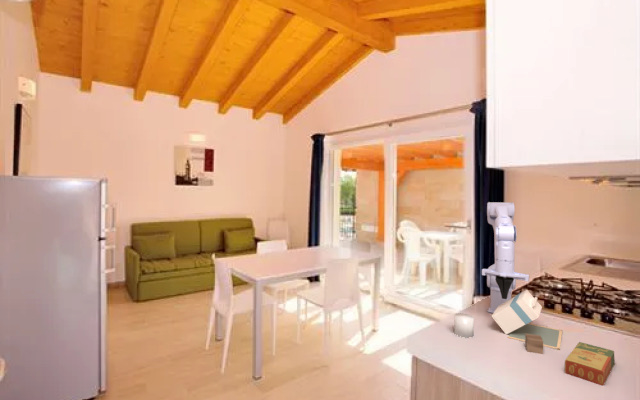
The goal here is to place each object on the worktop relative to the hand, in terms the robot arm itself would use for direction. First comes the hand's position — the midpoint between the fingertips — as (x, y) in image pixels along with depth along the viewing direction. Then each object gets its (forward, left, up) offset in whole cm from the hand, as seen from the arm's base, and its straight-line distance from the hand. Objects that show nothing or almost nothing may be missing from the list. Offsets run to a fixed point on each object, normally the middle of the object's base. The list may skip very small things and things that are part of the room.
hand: (504, 298), depth 120 cm
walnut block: (+13, +10, -10) cm, 20 cm away
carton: (+16, +23, -11) cm, 31 cm away
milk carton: (0, -1, -8) cm, 8 cm away
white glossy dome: (+14, -10, -10) cm, 20 cm away
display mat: (0, +9, -10) cm, 14 cm away
